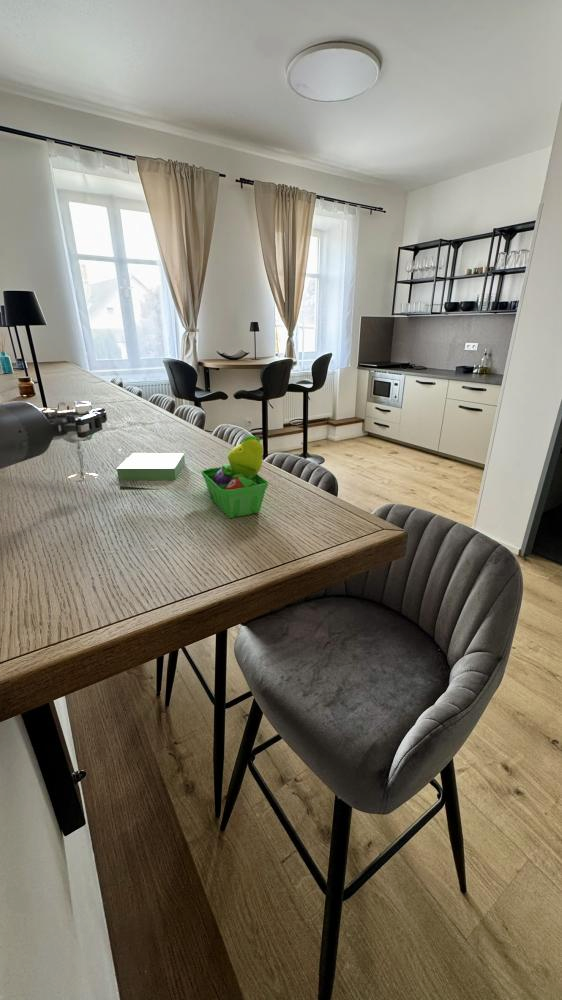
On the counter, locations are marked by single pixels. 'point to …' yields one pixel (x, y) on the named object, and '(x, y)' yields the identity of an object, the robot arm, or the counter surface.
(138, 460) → the green block
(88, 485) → the counter surface
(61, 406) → the wineglass
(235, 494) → the fruit basket
